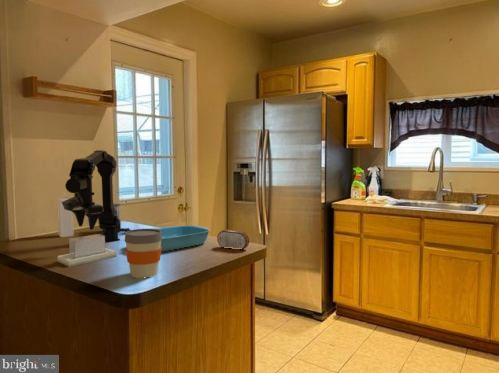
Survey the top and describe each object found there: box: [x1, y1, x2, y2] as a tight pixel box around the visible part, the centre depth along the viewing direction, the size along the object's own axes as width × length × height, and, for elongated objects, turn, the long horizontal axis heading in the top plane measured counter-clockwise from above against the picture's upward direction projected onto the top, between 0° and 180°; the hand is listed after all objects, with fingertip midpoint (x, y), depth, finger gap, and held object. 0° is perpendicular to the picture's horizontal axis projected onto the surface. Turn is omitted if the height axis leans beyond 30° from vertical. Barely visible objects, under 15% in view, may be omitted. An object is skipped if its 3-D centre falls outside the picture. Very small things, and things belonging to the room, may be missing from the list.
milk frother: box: [100, 203, 131, 233], centre depth 202 cm, size 14×16×15 cm
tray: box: [57, 247, 117, 268], centre depth 151 cm, size 19×10×2 cm, turn 139°
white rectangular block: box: [68, 233, 106, 260], centre depth 151 cm, size 5×12×8 cm, turn 139°
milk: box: [56, 192, 74, 238], centre depth 192 cm, size 6×6×22 cm
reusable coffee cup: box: [124, 228, 162, 279], centre depth 132 cm, size 13×13×15 cm
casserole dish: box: [157, 224, 210, 253], centre depth 175 cm, size 37×22×7 cm, turn 134°
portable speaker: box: [217, 228, 250, 250], centre depth 169 cm, size 15×3×8 cm, turn 65°
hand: (86, 227), depth 156 cm, fingers open, 9 cm apart
